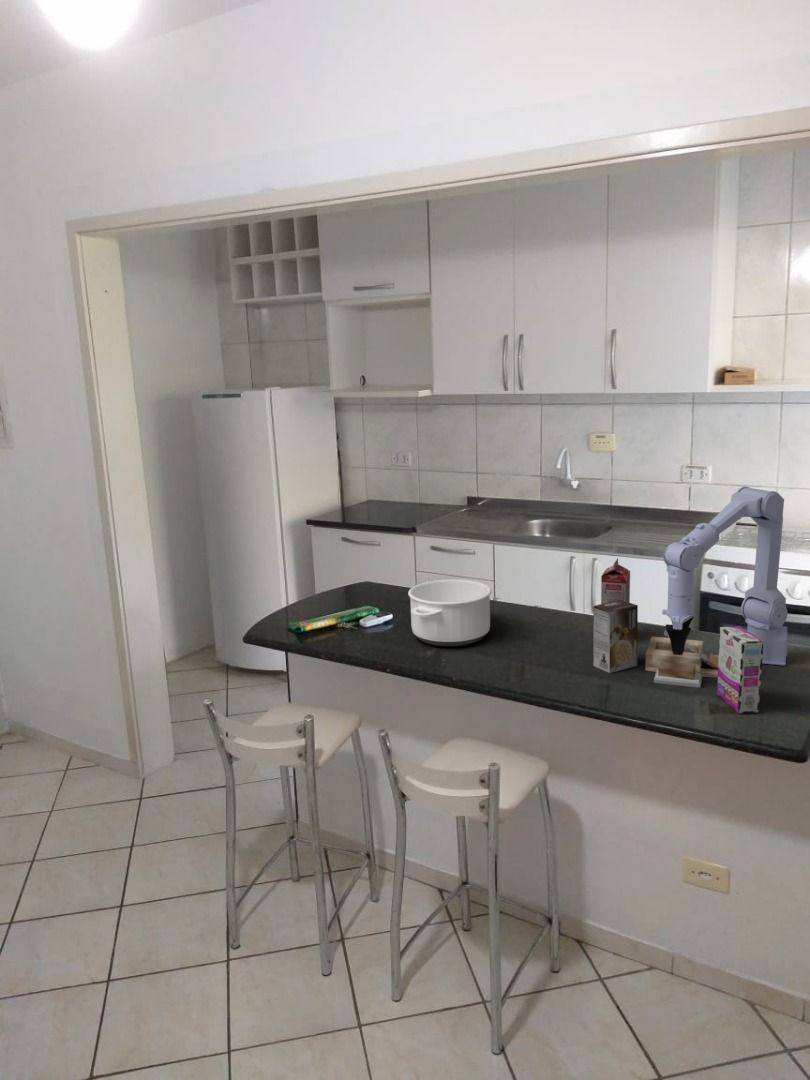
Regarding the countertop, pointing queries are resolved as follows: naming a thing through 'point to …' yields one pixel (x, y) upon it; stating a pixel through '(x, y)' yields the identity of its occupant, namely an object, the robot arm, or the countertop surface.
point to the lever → (710, 660)
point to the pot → (450, 612)
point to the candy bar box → (739, 669)
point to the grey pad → (679, 680)
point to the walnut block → (676, 670)
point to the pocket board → (676, 656)
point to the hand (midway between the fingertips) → (679, 648)
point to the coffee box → (615, 635)
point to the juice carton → (615, 584)
